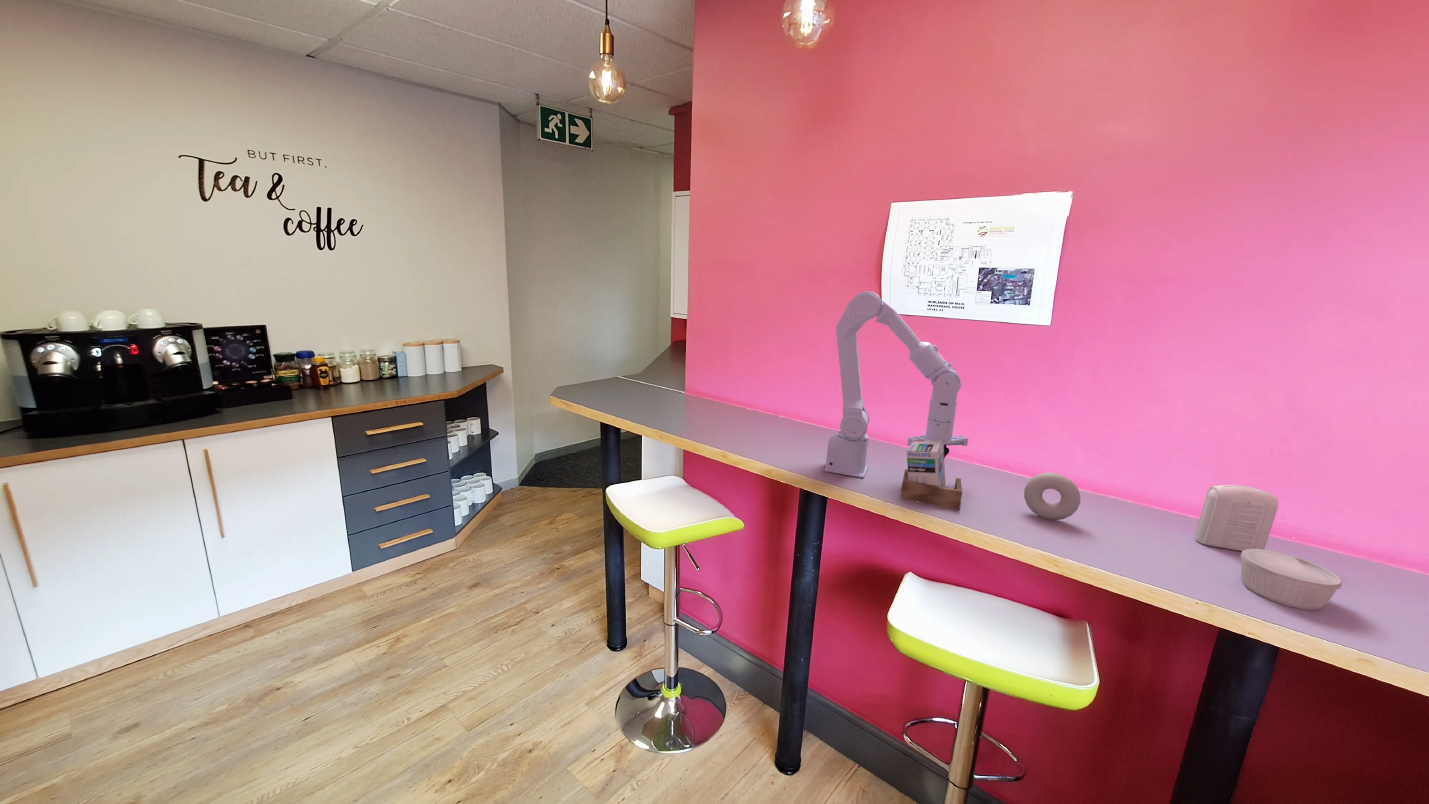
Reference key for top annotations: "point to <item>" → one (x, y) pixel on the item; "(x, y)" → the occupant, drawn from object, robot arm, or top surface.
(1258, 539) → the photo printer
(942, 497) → the walnut sleeve
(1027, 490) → the donut
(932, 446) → the light bulb box
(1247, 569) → the ramekin
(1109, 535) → the top surface
